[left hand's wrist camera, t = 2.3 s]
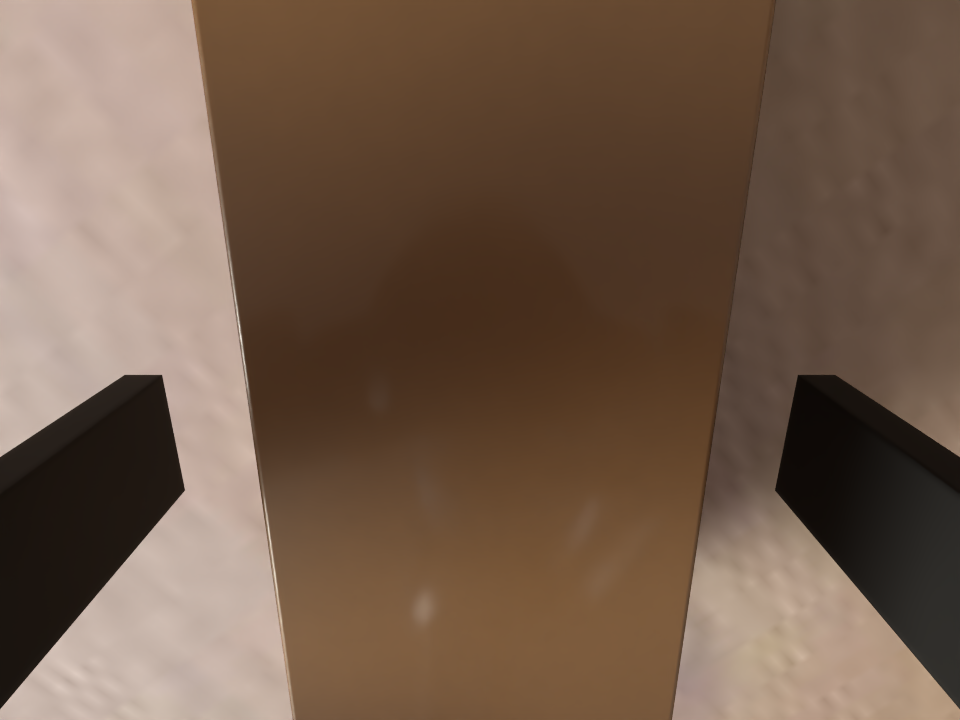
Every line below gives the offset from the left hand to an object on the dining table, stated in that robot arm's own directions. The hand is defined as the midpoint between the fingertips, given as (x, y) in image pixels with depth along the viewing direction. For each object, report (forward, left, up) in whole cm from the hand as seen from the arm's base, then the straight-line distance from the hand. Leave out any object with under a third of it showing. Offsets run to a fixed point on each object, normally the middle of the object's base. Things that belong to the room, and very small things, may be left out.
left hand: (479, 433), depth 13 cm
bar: (+20, -4, -3) cm, 21 cm away
